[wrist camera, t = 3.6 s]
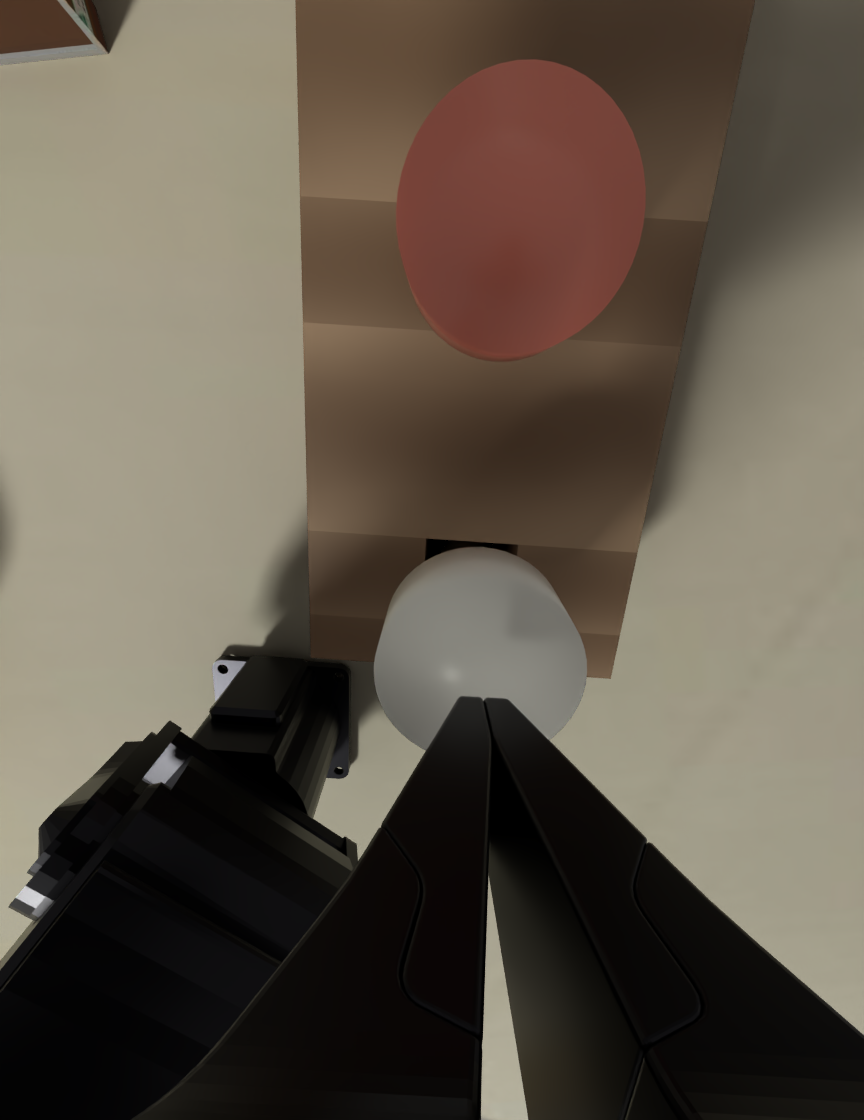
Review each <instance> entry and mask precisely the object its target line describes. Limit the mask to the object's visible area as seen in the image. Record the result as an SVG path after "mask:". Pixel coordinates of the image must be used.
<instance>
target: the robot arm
mask: <svg viewBox="0 0 864 1120" xmlns="http://www.w3.org/2000/svg"><path fill="white" fill-rule="evenodd" d="M222 665H225V666H226V667H227V668H228V669H224V668H223V667H222ZM212 671H213V681H214V691H215V701H216V702H215V703H214V705H213V706H212V707H211V708H210V711H209V712H210V714H209V715H208V717H207V718H206V719H205V721H204V722H203V723H202V725H201V726H200V727H199V729H198V730H197V731H196V732H195V734H194V735H193V736H192V738H190V737H188V736H187V735H185V734H184V733H182V732H181V731H180V730H181V729H182V728H181V727H179V726H177V725H176V724H174V723H173V722H171V721H169V722H168V723H167V724H166V725H165V726H164V727H163V728H162V729H161V731H160V732H159V733H158V734H157V735H156V734H155V733H153V732H151V733H150V734H149V735H148V736H147V737H146V738H145V739H144V740H143V741H137V742H125V743H124V744H123V745H122V746H121V747H120V748H119V749H118V750H117V752H116V753H115V754H114V755H113V756H112V757H111V758H110V759H109V760H108V761H107V762H106V763H105V764H104V765H103V766H102V767H101V768H100V769H99V770H98V771H97V772H96V773H95V774H94V775H93V776H92V777H91V778H90V779H89V780H88V781H87V782H86V783H85V784H83V785H82V786H81V787H80V788H79V789H78V790H77V791H75V792H74V793H73V794H72V795H71V796H70V797H69V798H67V799H66V800H65V801H64V802H63V803H62V804H61V805H59V806H58V807H57V808H56V809H55V810H54V811H53V813H52V814H51V815H50V816H49V817H48V818H47V819H46V820H45V821H44V823H43V824H42V825H41V826H40V827H39V847H38V859H37V860H36V862H35V863H34V864H33V865H32V866H31V868H30V869H29V870H28V872H27V873H28V874H30V875H32V876H33V878H32V879H31V880H30V881H29V882H28V883H27V885H26V886H25V887H24V888H23V889H22V891H21V892H20V893H19V894H18V895H17V897H16V898H15V899H14V900H13V902H12V903H11V904H10V905H9V908H11V909H13V910H15V911H16V912H18V913H20V914H22V915H24V916H26V917H28V918H30V919H32V920H33V921H32V922H31V924H30V925H29V926H28V927H27V928H26V930H25V931H24V932H23V933H22V935H21V936H20V937H19V938H18V940H17V941H16V942H15V943H14V945H13V946H12V947H11V948H10V950H9V951H8V952H7V953H6V954H5V956H4V957H3V958H2V959H1V961H0V1120H481V1076H482V1040H483V1015H484V986H485V957H486V928H487V899H488V873H489V879H490V885H491V892H492V898H493V904H494V910H495V916H496V922H497V929H498V935H499V941H500V947H501V953H502V959H503V965H504V972H505V978H506V984H507V990H508V996H509V1002H510V1009H511V1015H512V1021H513V1027H514V1033H515V1039H516V1045H517V1052H518V1058H519V1064H520V1070H521V1076H522V1082H523V1089H524V1095H525V1101H526V1107H527V1113H528V1119H529V1120H864V1035H863V1034H862V1033H861V1032H860V1031H858V1030H857V1029H856V1028H855V1027H854V1026H853V1025H851V1024H850V1023H849V1022H848V1021H847V1020H846V1019H845V1018H843V1017H842V1016H841V1015H840V1014H839V1013H838V1012H836V1011H835V1010H834V1009H833V1008H832V1007H831V1006H830V1005H828V1004H827V1003H826V1002H825V1001H824V1000H823V999H822V998H820V997H819V996H818V995H817V994H816V993H815V992H813V991H812V990H811V989H810V988H809V987H808V986H807V985H805V984H804V983H803V982H802V981H801V980H800V979H798V978H797V977H796V976H795V975H794V974H793V973H792V972H790V971H789V970H788V969H787V968H786V967H785V966H784V965H782V964H781V963H780V962H779V961H778V960H777V959H775V958H774V957H773V956H772V955H771V954H770V953H769V952H767V951H766V950H765V949H764V948H763V947H762V946H760V945H759V944H758V943H757V942H756V941H755V940H754V939H753V938H751V937H750V936H749V935H748V934H747V933H746V932H745V931H744V930H743V929H741V928H740V927H739V926H738V925H737V924H736V923H735V922H734V921H733V920H731V919H730V918H729V917H728V916H727V915H726V914H725V913H724V912H722V911H721V910H720V909H719V908H718V907H717V906H716V905H715V904H714V903H712V902H711V901H710V900H709V899H708V898H707V897H706V896H705V895H704V894H703V893H702V892H701V891H700V890H699V889H698V888H697V887H696V886H695V885H694V884H693V883H692V882H691V881H689V880H688V879H687V878H686V877H685V876H684V875H683V874H682V873H681V872H680V871H679V870H678V869H677V868H676V867H675V866H674V865H673V864H672V863H671V862H670V861H669V860H668V859H667V858H666V857H665V856H664V855H663V854H662V853H661V852H660V851H659V850H658V849H657V848H656V847H655V846H654V845H653V844H652V843H647V839H646V837H645V836H644V835H643V834H642V833H641V832H640V831H639V830H638V829H637V828H636V827H635V826H634V825H633V824H632V823H631V822H630V821H629V820H628V819H627V818H626V817H625V816H624V815H623V814H622V813H621V812H620V811H619V810H618V809H617V808H616V807H615V806H614V805H613V804H612V803H611V802H610V801H609V800H608V799H607V798H606V797H605V796H604V795H603V794H602V793H601V792H600V791H599V790H598V789H597V788H596V787H595V786H594V785H593V784H592V783H591V782H590V781H589V780H588V779H587V778H586V777H585V776H584V775H583V774H582V773H581V772H580V771H579V770H578V769H577V768H576V767H575V766H574V765H573V764H572V763H571V762H570V761H569V760H568V759H567V758H566V757H565V756H564V755H563V754H562V753H561V752H560V751H559V750H558V749H557V748H556V747H555V746H554V745H553V744H552V743H551V742H550V741H549V740H548V739H547V738H546V737H545V736H544V735H543V734H542V733H541V732H540V731H539V730H538V729H537V728H536V727H535V726H534V725H533V724H532V723H531V722H530V721H529V720H528V718H527V717H526V716H525V715H524V714H523V713H522V712H521V711H520V710H519V709H518V708H517V707H516V706H515V705H514V704H513V703H512V702H511V701H510V700H508V699H506V698H490V697H488V698H485V699H484V701H483V699H482V698H481V697H471V696H460V697H459V698H458V699H457V700H456V702H455V704H454V705H453V707H452V709H451V710H450V712H449V714H448V715H447V717H446V719H445V720H444V722H443V724H442V725H441V727H440V729H439V730H438V732H437V734H436V735H435V737H434V738H433V740H432V742H431V743H430V745H429V747H428V748H427V750H426V752H425V753H424V755H423V757H422V758H421V760H420V762H419V763H418V765H417V767H416V768H415V770H414V771H413V773H412V775H411V776H410V778H409V780H408V781H407V783H406V785H405V786H404V788H403V790H402V791H401V793H400V795H399V796H398V798H397V800H396V801H395V803H394V804H393V806H392V808H391V809H390V811H389V813H388V814H387V816H386V818H385V819H384V821H383V823H382V825H381V828H379V829H378V830H377V832H376V834H375V835H374V837H373V839H372V840H371V842H370V844H369V845H368V847H367V849H366V850H365V852H364V853H363V855H362V856H361V858H360V859H359V861H358V856H357V844H356V843H354V842H353V841H351V840H350V839H348V838H347V837H344V838H341V837H340V836H338V835H337V834H335V833H334V832H332V831H331V830H329V829H328V828H326V827H325V826H323V825H322V824H320V823H319V822H317V821H316V820H314V819H313V817H314V814H315V811H316V807H317V804H318V801H319V798H320V795H321V792H322V789H323V786H324V782H325V779H326V778H337V779H340V778H344V777H346V776H347V775H348V772H349V768H350V717H351V672H350V669H349V668H348V667H347V666H346V665H344V664H338V663H324V662H310V661H305V660H303V659H294V658H279V657H265V656H252V657H238V656H221V657H219V658H218V659H217V660H216V661H215V662H214V664H213V667H212ZM335 673H341V674H343V676H344V677H338V676H337V675H336V674H335ZM337 767H341V768H343V769H338V768H337ZM646 843H647V844H646Z"/></svg>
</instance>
